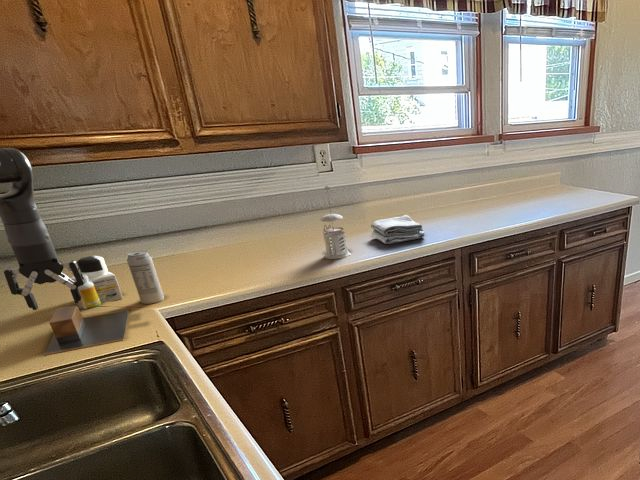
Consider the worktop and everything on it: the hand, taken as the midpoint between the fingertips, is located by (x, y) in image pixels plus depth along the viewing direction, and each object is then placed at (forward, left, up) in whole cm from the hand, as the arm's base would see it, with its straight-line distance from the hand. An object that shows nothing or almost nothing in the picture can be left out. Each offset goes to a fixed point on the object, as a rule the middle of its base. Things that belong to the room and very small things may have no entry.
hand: (57, 305), depth 128 cm
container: (+5, +29, -9) cm, 31 cm away
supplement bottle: (+2, +22, -9) cm, 24 cm away
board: (+5, 0, -9) cm, 10 cm away
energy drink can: (+18, +17, -9) cm, 27 cm away
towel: (+107, +48, -9) cm, 118 cm away
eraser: (+1, 0, -8) cm, 8 cm away
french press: (+78, +37, -9) cm, 87 cm away
